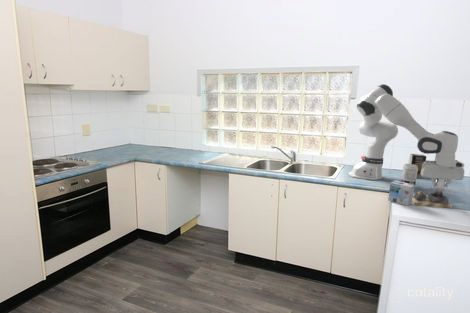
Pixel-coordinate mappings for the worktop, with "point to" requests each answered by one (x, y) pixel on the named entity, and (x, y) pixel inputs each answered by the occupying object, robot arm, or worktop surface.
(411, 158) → the coffee box
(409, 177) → the supplement can
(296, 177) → the worktop surface
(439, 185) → the pipe fitting
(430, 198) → the manifold plate
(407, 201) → the light bulb box
